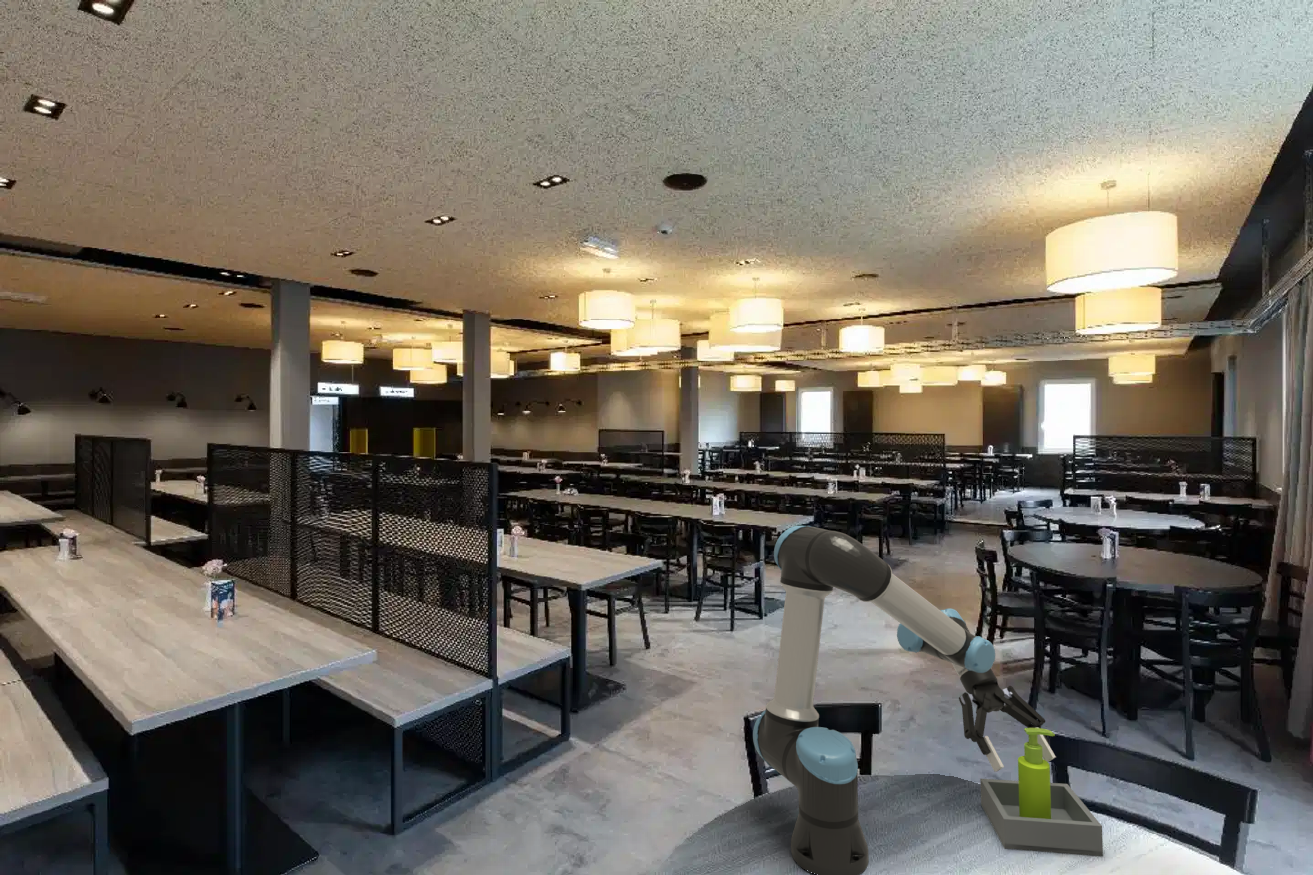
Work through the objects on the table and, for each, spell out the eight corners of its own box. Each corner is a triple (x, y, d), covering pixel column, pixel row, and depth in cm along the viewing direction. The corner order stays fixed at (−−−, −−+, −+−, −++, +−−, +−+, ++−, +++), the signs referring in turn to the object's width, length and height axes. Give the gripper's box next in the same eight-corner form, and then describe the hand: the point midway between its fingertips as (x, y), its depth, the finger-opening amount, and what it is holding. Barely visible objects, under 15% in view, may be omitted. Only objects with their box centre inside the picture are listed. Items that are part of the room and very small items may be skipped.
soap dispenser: (1061, 833, 137) (1058, 736, 137) (1024, 830, 138) (1022, 734, 138) (1050, 817, 143) (1048, 724, 143) (1015, 814, 144) (1013, 722, 144)
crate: (1004, 848, 134) (1003, 818, 134) (981, 804, 150) (980, 778, 150) (1102, 856, 131) (1102, 825, 131) (1068, 810, 146) (1067, 783, 146)
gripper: (1009, 672, 164) (1061, 761, 149) (922, 685, 157) (968, 779, 143) (1025, 658, 158) (1081, 749, 144) (936, 670, 152) (985, 767, 138)
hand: (1025, 764), depth 143 cm, fingers open, 13 cm apart
